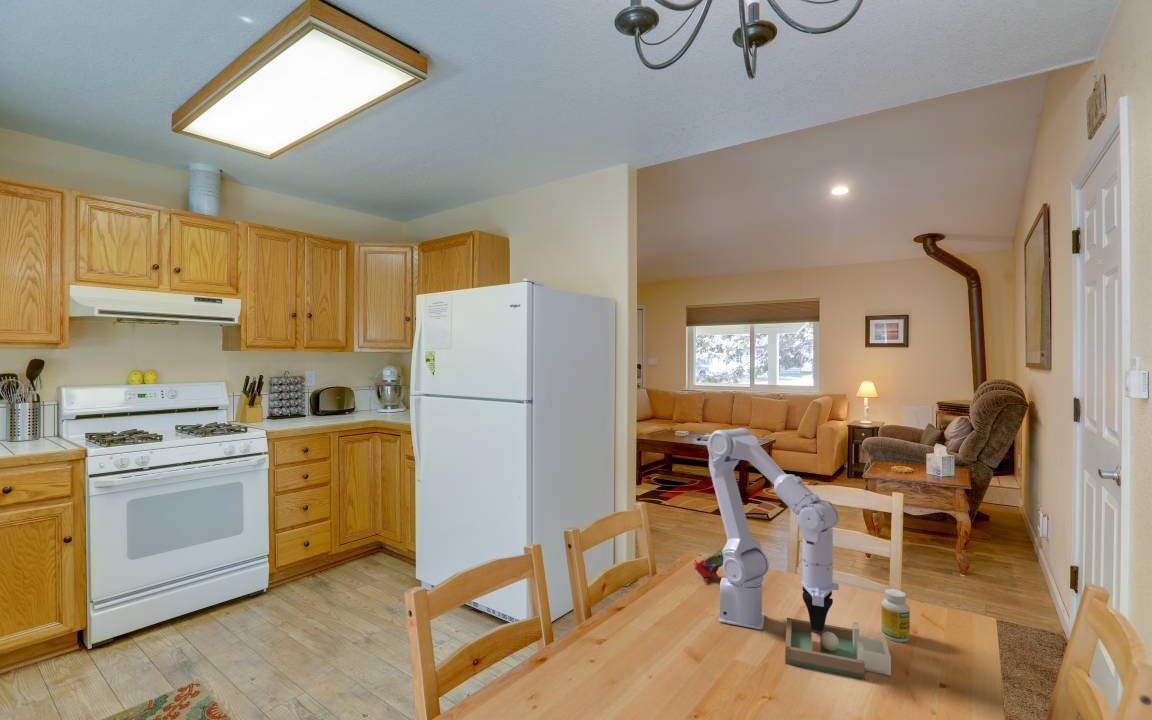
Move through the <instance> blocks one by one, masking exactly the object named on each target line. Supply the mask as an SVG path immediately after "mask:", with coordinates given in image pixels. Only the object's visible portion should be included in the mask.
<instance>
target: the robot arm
mask: <svg viewBox="0 0 1152 720" xmlns="http://www.w3.org/2000/svg"><path fill="white" fill-rule="evenodd" d="M705 444H706V448H707V451H708V455H709V456H708V469H709V473H710V477H711V482H712V485H713V489H714V491H715V492H714V493H715V496H716V499H717V505H718V508H719V512H720V516H721V520H722V523H723V524H722V525H723V528H724V532H725V536H726V539H727V541H726V543H725V545H724V547H723V548H722V549H723V551H722V554H723V565H722V570H723V573H724V576H725V578H724V576H723V577H720V578H721V579H720V583H719V605H718V609H719V617H718V618H719V619H718V621H719V622H720V623H723V624H730V625H733V626H740V627H746V628H749V629H755V630H763V629H764V623H765V613H764V612H763V581H764V576H765V575H766V574H767V573H768V572H769V569H770V568H769V567H770V565H769V564H770V563H769V560H768V557H767V555H766V554H765V553H764V551H763V549H762V546H761V543H760V542H759V541H758V540H756V539H755V538H754V537H753V536H752V534H751V530H750V527H749V523H748V519H747V516H746V512H745V508H744V504H743V501H742V498H741V497H742V496H741V493H740V489H739V486H738V482H737V478H736V475H735V471H734V470H735V467H736V466H737V464H738V463H739V461H740V460H741V461H742V460H743V461H747V462H749V463H750V464H751V465H752V466H753V467H754V468H755V469H757V471H759V472H760V473H761V474H762V475H763V476H764V477H766V479H767V480H768V481H769V482H771V483H772V484H773V489H774V490H773V491H774V494H775V495H777V497H778V498H779V499H780V500H781V501H782V502H783V503H784V504H785V505H786V506H787V507H788V508H789V509H790V510H791V511H792V512H793V513H794V514H795V515H796V521H797V524H798V526H799V527H800V530H801V537H802V547H801V548H802V549H801V550H802V556H801V557H802V563H801V564H802V565H801V566H802V568H801V569H802V573H801V574H802V575H801V576H802V577H801V580H800V581H801V582H800V584H801V586H802V591H803V592H802V600H803V602H804V604H805V606H806V609H807V612H808V618H809V622H810V624H811V628H812V630H817V631H823V629H824V625H825V624H826V621H827V620H826V619H827V615H828V613H829V611H830V608H831V607H832V606H833V602H834V599H833V598H831V597H832V595H833V591H839V590H840V585H839V584H838V583H836V582H834V581H833V575H834V574H833V572H834V571H833V567H834V565H833V564H834V563H833V562H834V558H833V557H834V553H833V552H834V549H833V547H834V546H833V545H834V543H833V542H834V540H833V539H834V537H833V535H834V534H833V533H834V532H833V531H834V530H833V528H834V527H835V526H836V525H837V524H838V521H839V513H838V511H837V508H836V507H835V506H834V505H833V503H832V502H831V501H829V500H826V499H821V498H820V496H818V494H815V493H814V492H813V491H812V490H811V489H809V487H807V486H806V484H804V483H803V481H804V479H802V478H801V477H800V476H796V475H795V474H791V473H789V474H787V473H786V472H785V471H784V470H783V469H782V468H781V467H780V466H779V465H778V464H777V463H776V462H775V460H774V459H773V458H772V457H771V456H770V455H769V454H768V453H767V451H766V450H765V449H764V448H763V447H762V446H761V445H760V443H759V440H758V437H756V436H755V435H754V434H752V433H751V431H750V430H749V429H748V428H745V427H737V428H733V429H718V430H714V431H713V432H712V433H711V434H710V436H709V438H708V439H707V441H706V443H705Z"/></svg>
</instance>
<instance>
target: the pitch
mask: <svg viewBox="0 0 1152 720" xmlns="http://www.w3.org/2000/svg"><path fill="white" fill-rule="evenodd" d="M785 627H786V628H785V630H786V631H785V644H784V645H785V649H784V650H785V651H784V654H785V655H784V664H785V665H792V666H797V667H801V668H806V669H811V670H816V671H821V672H826V673H831V674H834V675H835V674H837V675H841V676H844V677H845V676H846V677H849V678H855V679H861V680H864V681H865V679H866V677H865V676H866V675H865V672H870V673H877V674H880V675H885V676H886V675H887V676H890V677H891V675H892V657H891V653H890V650H889V647H888V643H887V640H886V639H883V638H877V637H870V636H865V635H860V625H859V622H857V621H852V628H849V627H848V628H847V627H842V626H835V625H831V624H826V623H825V625H824V629H823V631H821V633H820V637H821V635H822V634H823V633H824V632H831V633H833V634H835V635H836V637H837V638H838V641H839V646H838V648H837V649H836V650H834V651H828V650H826V649H825V648H823V646H822V645H821V642H820V652H815V651H812V642H811V631H810V621H807V620H802V619H795V618H790V617H786V626H785Z"/></svg>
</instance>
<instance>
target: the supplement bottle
mask: <svg viewBox="0 0 1152 720" xmlns="http://www.w3.org/2000/svg"><path fill="white" fill-rule="evenodd" d="M884 597H885V598H884V599H883V600H882V601H881V605H880V606H881V607H880V608H881V611H880V612H881V622H880V623H881V634H882V635H883V637H885V638H886V639H887V640H890V641H893V642H897V643H905V642H908V641H909V640H910V634H911V633H910V631H911V630H910V624H911V622H910V620H911V619H910V615H911V613H910V612H911V611H910V606H909V604H908V603H907V602H906V601H907V595H906V593H905V592H904V591H901V590H897V589H894V588H893V589H892V588H891V589H890V588H889V589H885V590H884Z"/></svg>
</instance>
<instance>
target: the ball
mask: <svg viewBox="0 0 1152 720" xmlns="http://www.w3.org/2000/svg"><path fill="white" fill-rule="evenodd" d="M820 642H821V645H822V646H823V648H825V649H826V650H828V651H834V650H836V649H837V648H838V646H839V641H838V638H837V637H836V635H835V634H833V633H831V632H824V633H823V634H822V635H821V637H820Z"/></svg>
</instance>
